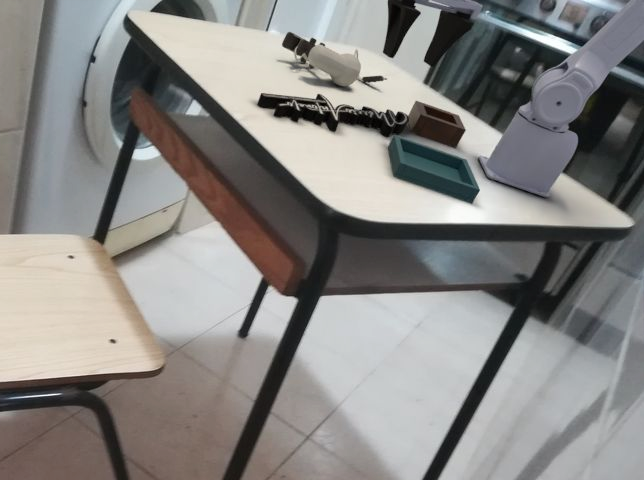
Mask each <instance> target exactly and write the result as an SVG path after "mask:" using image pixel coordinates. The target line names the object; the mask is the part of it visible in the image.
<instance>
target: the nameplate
mask: <svg viewBox="0 0 644 480" xmlns="http://www.w3.org/2000/svg"><path fill="white" fill-rule="evenodd" d="M256 105H257V106H258V107H260V108H263V109H274V112H273V117H276V118H284V117H286V118H289V119H290V120H291V121H293V122H295V123H299V120H300V119H302V120H304V121H308V122H313V123H314V124H315V125H317V126H321V125H322V123H326V125H327V127H328V129H329V131H331V132H334V133H335V132H336V131H337V128H338V127H339V124H340V123H344V124H349V125H351V126H355V125H360V126H363V127H364V128H368V129H369V128H370V127H371V128H373V129H375V130H379V132H380V134H381V135H382V136H384V137H385V138H389V137H391V135H392V134H393V135H401V134H403V132H404V131H405V129H406V128H407V126H408V125H409V117H408V114H406V113H405V112H403V111H400V110H399V111H397V112H396V114H395V113H394V111H393V110H391V109H386V111H385V112H384V111H379V112H378V110H376V109H374V108H372V107H370V106H364V105H363V106H362V107H361V109H356V108H355V107H354V106H351V105H348V104H345V103H344V104H339V105H337V106H336V107H334V105H333V104H332V103H331V101H330V100H329V99H328V97H326V96H324V95H323V94H321V93H317V95H316V97H315V98H311V97H301V96H294V95H293V96H292V95H283V94H274V93H265V92H264V93H263V92H261V93H260V95H259V98H258V101H257V104H256Z"/></svg>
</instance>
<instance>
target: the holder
mask: <svg viewBox="0 0 644 480" xmlns="http://www.w3.org/2000/svg"><path fill="white" fill-rule="evenodd" d="M387 150H388V155H389V160H390V163H391V170H392V175H393V177H394V178H398V179H400V180H404V181H405V182H409V183H412V184H415V185H417V186H421V187H423V188H426V189H429V190H432V191H435V192H438V193H440V194H444V195H446V196H450V197H452V198H455V199H458V200H461V201H464V202H467V203H471V204H473V203H474V201H475V200H476V198H477V196H478V195H479V193H480V191H481V189H480V187H479V184H478V182H477V180H476V177H475V176H474V173H473V171H472V168H471V166H470V164H469V162H468V159H466V158H464V157H459V156H457V155H454V154H451V153H449V152H445V151H443V150H440V149H437V148H435V147H432V146H430V145H429V146H428V145H425V144H423V143H420V142H417V141H414V140H411V139H408V138H405V137H403V136H399V135H398V134H393V136H392V138H391V140H390V142H389V144H388V146H387Z"/></svg>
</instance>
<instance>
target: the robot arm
mask: <svg viewBox="0 0 644 480" xmlns="http://www.w3.org/2000/svg"><path fill="white" fill-rule="evenodd" d="M431 1H432V2H431ZM431 1H430V0H387V28H386V34H385V41H384V45H383V50H382V53H383V55H385V56H386V57H388V58H390V59H394V58H395V56H396V55H397V53H398V52H399V49H400V47H401V45H402V43H403V41H404V40H405V37H406V35H407V33H408V32H409V31H410V29H411V28H412V26H413V24H414V23H415V22H416V20H417V19H418V18H419V17H420V16H421V15H422V12H421V10H419V9H417V8H416V7H417V6H416V5H415V4H418V5H421V6H424V7H429V8H433V9H436V10H440V11H439V16H438V21H437V24H436V27H435V31H434V34H433V36H432V39H431V41H430V43H429V45H428V47H427V50H426V53H425V54H424V58H423V62H424V63H425V64H426V65H428V66H430V67H432V68H434V67H435V66H436V65H437V64H438V63H439V62H440V60H441V59H442V57H443V56H444V55H445V54H446V53H447V51H449V49H451V47H452V46H453V45H455V43H456V42H457V41H458V40H459V39H461V38H462V37H463V36H465V35H466V34H467V33H469V32H470V31H471V30H472V29H473V27H474V24H475V22H474V21H475V20H477V18H478V17H479V15H480V13H481V11H482V9H483V7H484V5H483V4H482V3H481V4H480V3H479V2H477V1H475V0H431ZM472 20H474V21H472ZM642 42H644V0H629V1H628V2H627V3H626V4H625V5H624V6H623V7H621V9H619V11H618V12H616V14H615V15H613V17H612V18H611V19H609V20H608V22H606V23H605V24H604V25H603V26H602V27H601V28H600V29H599V30H598V31H597V32H596V33H595V34H594V35H593V36H592V37H591V38H590V39H589V40H588V41H587V42H586V43H585V44H584V45H583V46H581V47H580V48H578V49H577V50H575V51H574V52H573V53H571V54H570V55H569V56H568V57H567V58H566V59H564V60H563V61H562V62H561V63H560V64H558V65H556V66H554V67H551V68H549V69H547V70H545V71H544V72H542V73H541V74H540V75H539V76H538V77H537V78H536V80H535V81H534V83H533V85H532V87H531V100H530V101H528V102H527V103H526V104H523V105H521V106H519V108H518V110H517V111H516V112H515V114H514V116H513V118H512V119H511V121H510V122H509V124H508V126H507V128H506V129H505V131H504V133H503V134H502V136H501V137H500V139H499V141H498V143H497V144H496V146H495V147H494V149H493V151H492V153H491V154H490V156H489V157H487V156H484V155H478V161H479V162H480V165H481V166H482V168H483V171H484V173H485V175H486V177H487V178H488V179H491V180H493V181H497V182H499V183H503V184H506V185H509V186H511V187H515V188H517V189H520V190H522V191H526V192H528V193H530V194H531V193H532V194H534V195H537V196H540V197H543V198H548V197H549V192H550V190H551V188H552V187H553V186H554V184H555V183H556V181H557V180H558V179H559V177H560V175H562V173H563V172H564V170H565V168H566V167H567V166H568V164H569V163H570V161H571V160H572V158H573V156H574V154H575V152H576V150H577V147H578V144H579V137H578V134H577V133H576V132H574V131H572V130H569V128H570V125H569V124H570V123H572V122H573V121H574V120H576V119H577V118H578V117H579V116H580V115H581V114H582V112H583V110H584V108H585V106H586V103H587V102H588V100H589V99H590V97H591V96H592V95H593V94H594V93H595V92H596V91H597V90H598V89H599V88H600V87H601V86H602V84H603V83H604V81H605V79H606V78H607V76H608V75H609V74H610V72H611V71H612V70H613V69H615V67H616V66H618V64H620V63H621V62H623V60H624V59H626V57H627V56H628V55H629V54H631V53H632V52H633V51H634V50H635V49H636V48H638V46H639V45H640V44H642Z"/></svg>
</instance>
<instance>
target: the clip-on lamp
mask: <svg viewBox="0 0 644 480" xmlns="http://www.w3.org/2000/svg"><path fill="white" fill-rule="evenodd" d="M316 43H317V39H316V38H314V37H310V39H309V40H307V39H306V38H302V37H301V36H299V35H297V34H296V33H293V32H292V31H288V32H286V35H285V36H284V38H283V41H282V43H281V46H282V47H283V48H284V49H286V50H288V51H290V52H292V53H293V56H294V60H295V61H296V62H300V63H303V64H306V63H307V62H308V63H309V64H308V66H309V67H310V68H311V69H314V68H316V69H317V70H320V71H322V72H324V73H325V74H327V75H329V76H330V78H331V81H332V82H333V83H334V84H336V85H337V86H340V87H349V86H351V85H353V84H354V83H355V82H356V81H357V80H360V81H362V82H364V83H377V82H384V81H388V78H387V77H384V76H383V75H371V76H362V77H361V76H360V75H361V74H360V73H361V69H362V66H361V65H362V64H361V61H360V59H359V50H358V48H357V49H355V50H354V52H353V53H354V54H352V53H346V52H345V53H341V54H340V53H339V52H336V51H335V50H333V49H331V48H329V47H327V46H326V44H325V43H324V42H319V44H317V45H316ZM298 57H299V58H298Z"/></svg>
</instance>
